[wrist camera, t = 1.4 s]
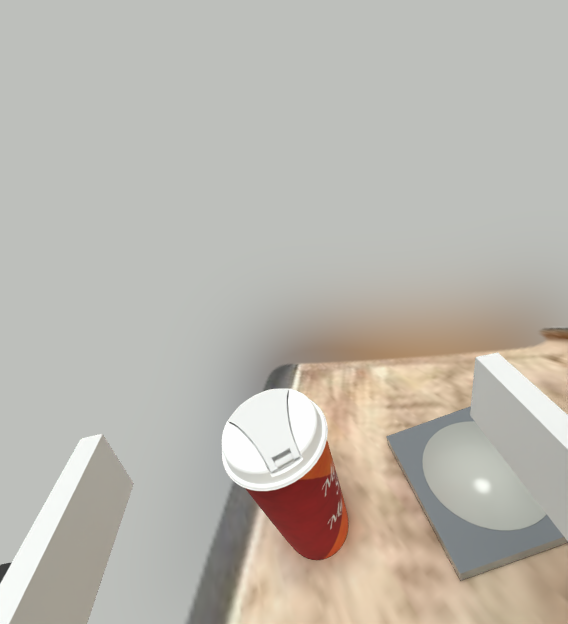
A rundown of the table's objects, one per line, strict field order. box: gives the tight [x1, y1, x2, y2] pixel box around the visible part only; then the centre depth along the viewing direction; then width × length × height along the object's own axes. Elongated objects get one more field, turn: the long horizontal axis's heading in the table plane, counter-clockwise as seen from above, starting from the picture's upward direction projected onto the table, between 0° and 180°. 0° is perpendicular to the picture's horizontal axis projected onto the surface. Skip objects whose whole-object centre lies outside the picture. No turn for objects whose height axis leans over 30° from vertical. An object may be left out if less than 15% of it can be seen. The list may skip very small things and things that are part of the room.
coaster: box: [387, 406, 568, 581], centre depth 29 cm, size 12×12×1 cm
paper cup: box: [222, 389, 348, 560], centre depth 27 cm, size 8×8×14 cm
